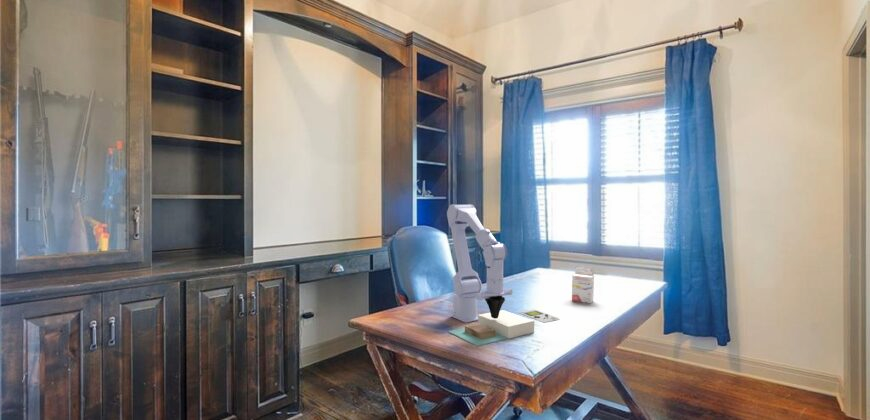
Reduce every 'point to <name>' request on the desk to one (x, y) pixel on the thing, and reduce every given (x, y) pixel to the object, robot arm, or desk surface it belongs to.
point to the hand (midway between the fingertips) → (494, 317)
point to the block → (480, 331)
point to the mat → (475, 340)
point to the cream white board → (507, 324)
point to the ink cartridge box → (583, 285)
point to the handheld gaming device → (539, 316)
